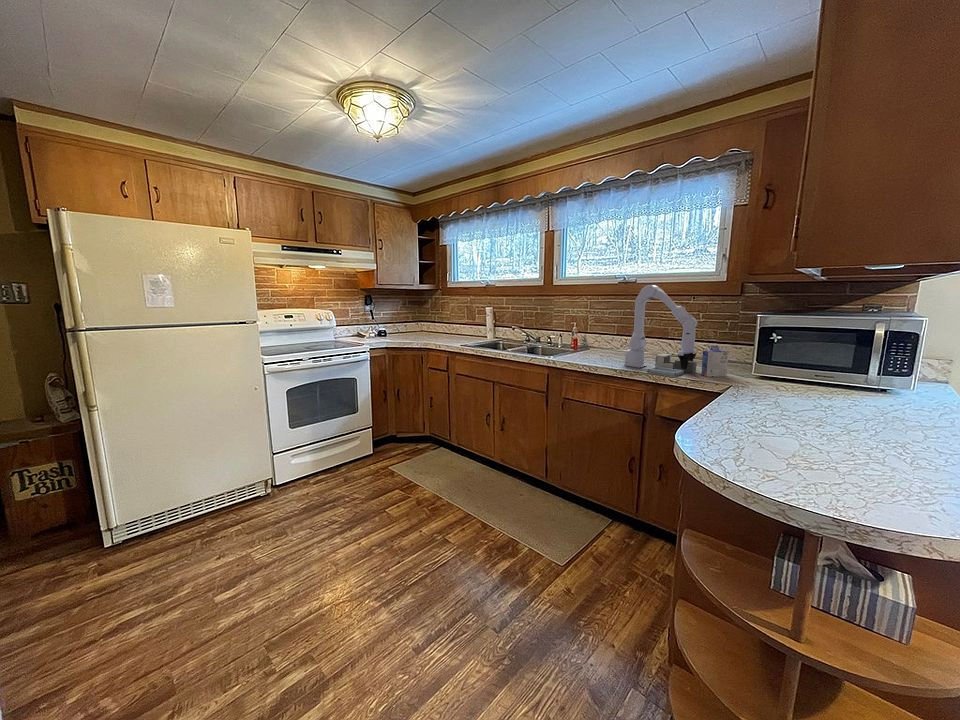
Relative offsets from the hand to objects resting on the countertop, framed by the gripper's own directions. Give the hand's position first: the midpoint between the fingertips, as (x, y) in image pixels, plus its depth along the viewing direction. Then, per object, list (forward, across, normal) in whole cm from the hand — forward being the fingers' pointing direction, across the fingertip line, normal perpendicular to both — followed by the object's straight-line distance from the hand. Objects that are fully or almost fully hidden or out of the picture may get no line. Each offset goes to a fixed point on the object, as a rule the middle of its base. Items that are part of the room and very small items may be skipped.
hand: (685, 368), depth 198 cm
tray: (+2, -12, +5) cm, 13 cm away
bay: (+2, 0, +9) cm, 10 cm away
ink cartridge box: (+2, 0, -13) cm, 13 cm away
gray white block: (+2, 0, 0) cm, 2 cm away
